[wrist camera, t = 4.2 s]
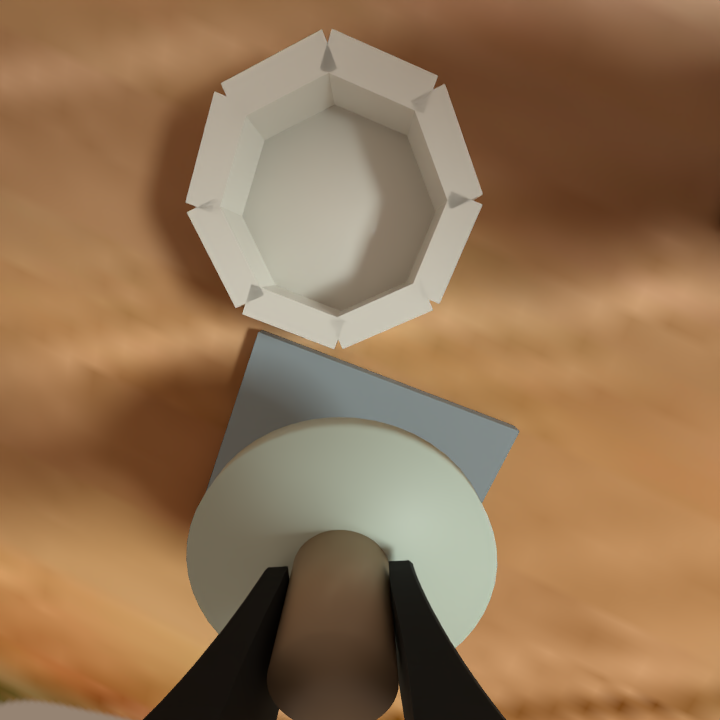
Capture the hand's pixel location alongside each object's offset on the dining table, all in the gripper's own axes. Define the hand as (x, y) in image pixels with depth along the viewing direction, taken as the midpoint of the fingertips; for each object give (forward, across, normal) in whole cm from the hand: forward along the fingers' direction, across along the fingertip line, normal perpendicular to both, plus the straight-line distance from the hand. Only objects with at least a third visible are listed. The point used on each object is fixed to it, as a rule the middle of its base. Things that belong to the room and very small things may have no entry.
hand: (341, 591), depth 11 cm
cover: (+1, 0, 0) cm, 1 cm away
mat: (+7, 0, 0) cm, 7 cm away
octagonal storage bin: (+7, 0, -11) cm, 13 cm away
